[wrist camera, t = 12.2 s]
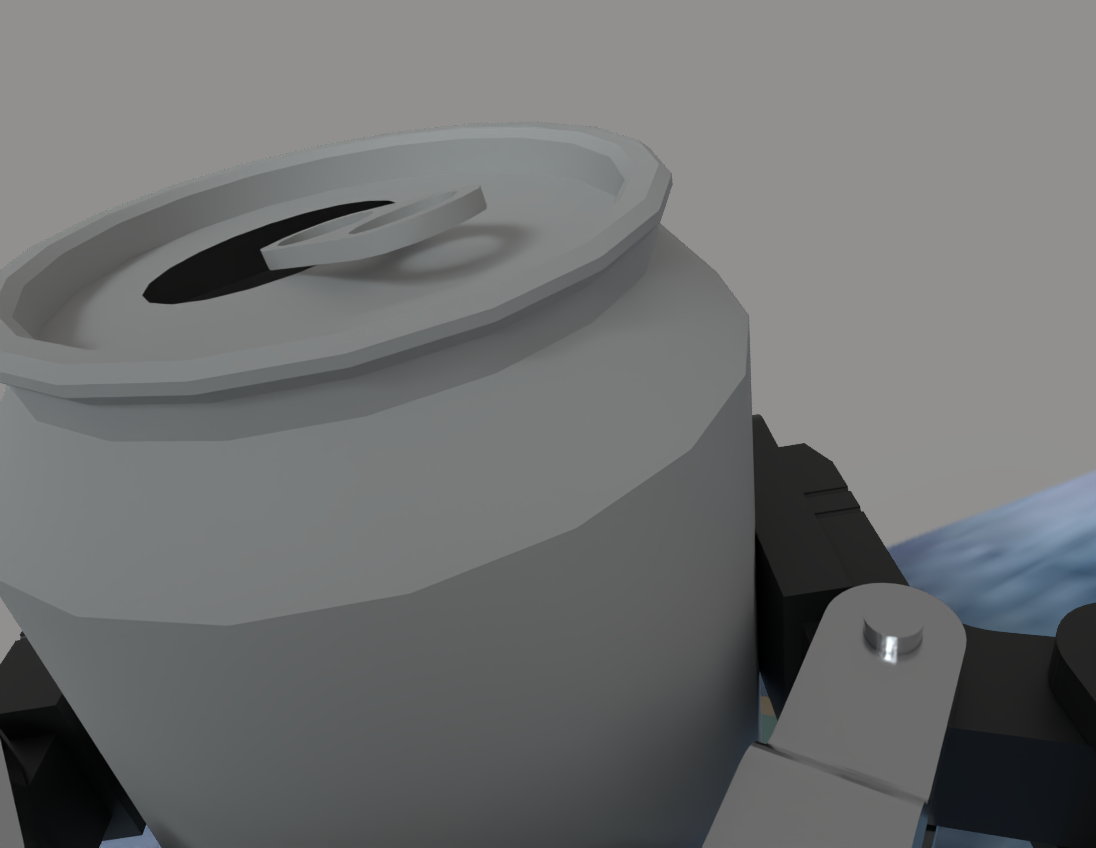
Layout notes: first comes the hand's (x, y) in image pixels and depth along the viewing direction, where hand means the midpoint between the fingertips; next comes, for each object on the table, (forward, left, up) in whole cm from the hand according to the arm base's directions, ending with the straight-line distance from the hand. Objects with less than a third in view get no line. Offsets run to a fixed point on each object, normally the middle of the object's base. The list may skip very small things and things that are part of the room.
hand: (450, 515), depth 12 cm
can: (-2, -1, -7) cm, 7 cm away
